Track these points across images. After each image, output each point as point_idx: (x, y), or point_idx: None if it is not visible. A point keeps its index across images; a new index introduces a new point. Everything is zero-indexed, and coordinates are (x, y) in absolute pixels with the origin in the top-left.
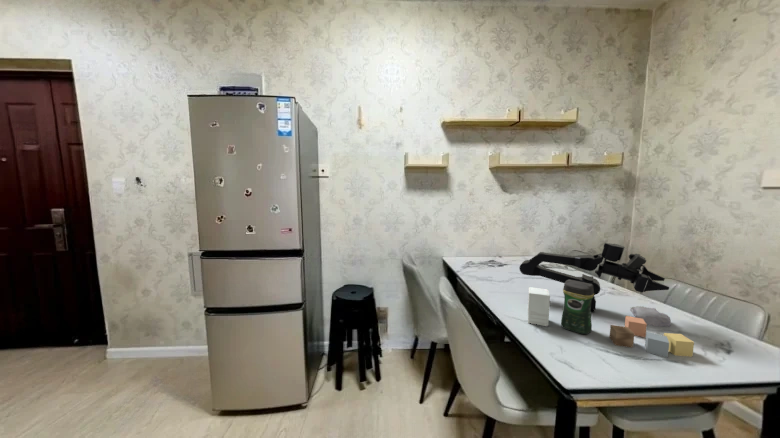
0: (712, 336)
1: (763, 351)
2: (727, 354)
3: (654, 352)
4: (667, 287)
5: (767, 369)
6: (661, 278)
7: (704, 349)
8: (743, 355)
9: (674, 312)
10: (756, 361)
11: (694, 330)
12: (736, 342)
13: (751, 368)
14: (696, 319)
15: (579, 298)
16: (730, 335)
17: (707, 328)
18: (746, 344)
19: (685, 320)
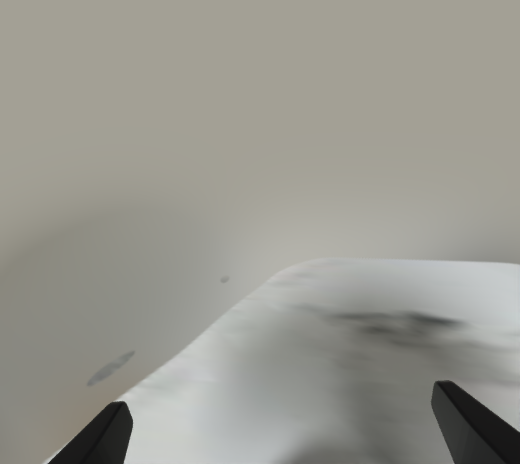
0: (322, 346)
1: (339, 267)
2: (466, 324)
3: None
4: (466, 398)
5: (472, 267)
6: (113, 438)
7: (509, 378)
8: (422, 295)
9: None
10: (437, 279)
11: (303, 391)
12: (322, 301)
13: (516, 288)
14: (167, 375)
15: None
16: (271, 308)
17: (247, 352)
18: (317, 287)
19: (197, 413)
